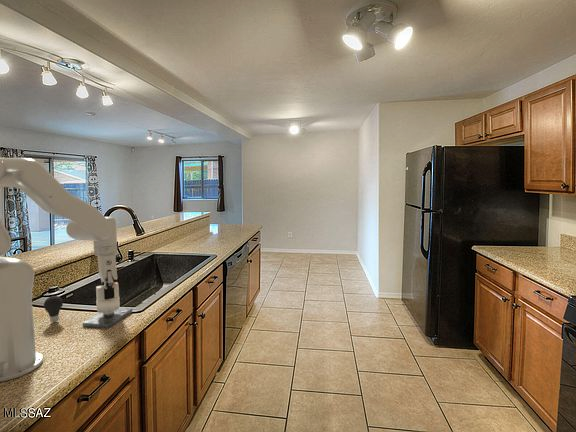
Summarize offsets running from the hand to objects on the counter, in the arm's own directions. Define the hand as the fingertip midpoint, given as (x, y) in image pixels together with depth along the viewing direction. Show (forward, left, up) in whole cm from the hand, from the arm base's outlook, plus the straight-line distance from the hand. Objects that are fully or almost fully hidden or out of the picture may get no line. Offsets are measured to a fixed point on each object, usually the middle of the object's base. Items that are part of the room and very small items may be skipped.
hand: (107, 295), depth 115 cm
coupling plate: (0, 0, -9) cm, 9 cm away
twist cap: (0, 0, -5) cm, 5 cm away
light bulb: (-5, +18, -10) cm, 21 cm away
